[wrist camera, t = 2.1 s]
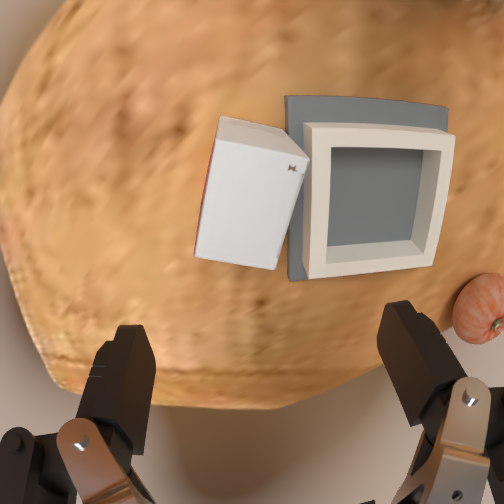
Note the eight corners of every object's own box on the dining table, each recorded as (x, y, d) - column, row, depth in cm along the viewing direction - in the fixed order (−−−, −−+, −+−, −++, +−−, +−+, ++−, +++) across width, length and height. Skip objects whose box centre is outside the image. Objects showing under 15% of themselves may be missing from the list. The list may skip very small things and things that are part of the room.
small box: (219, 114, 25) (214, 134, 16) (283, 128, 26) (312, 156, 17) (202, 199, 29) (191, 259, 20) (261, 210, 30) (275, 273, 21)
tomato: (431, 302, 39) (458, 343, 32) (484, 247, 35) (519, 281, 28) (457, 330, 42) (480, 365, 36) (503, 283, 39) (531, 315, 32)
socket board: (284, 95, 25) (294, 98, 21) (440, 106, 25) (467, 113, 22) (287, 273, 34) (294, 299, 30) (418, 259, 35) (436, 281, 31)
